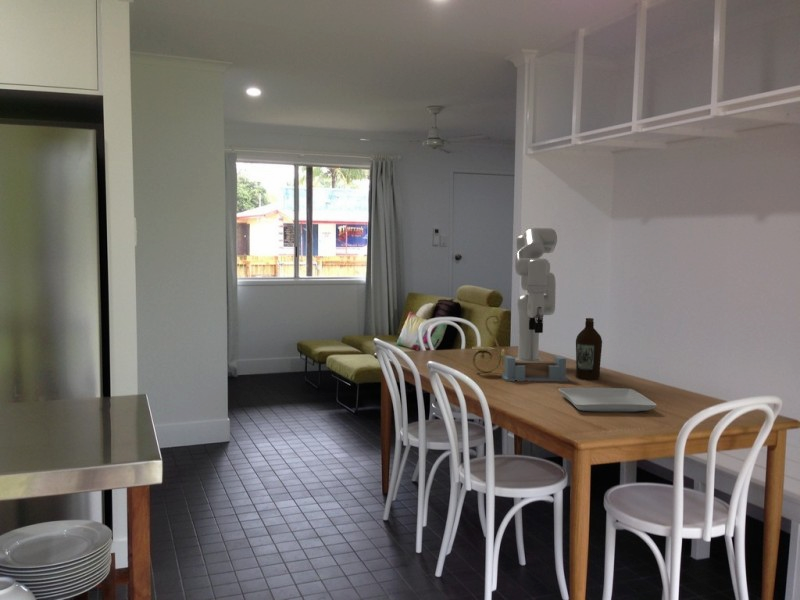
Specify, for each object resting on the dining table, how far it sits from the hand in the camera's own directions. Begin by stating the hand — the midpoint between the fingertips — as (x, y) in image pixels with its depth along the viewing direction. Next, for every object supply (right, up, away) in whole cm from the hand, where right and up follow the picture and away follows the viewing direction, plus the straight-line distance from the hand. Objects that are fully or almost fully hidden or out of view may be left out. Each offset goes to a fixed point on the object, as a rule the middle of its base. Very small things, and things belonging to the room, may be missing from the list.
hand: (535, 331), depth 291 cm
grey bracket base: (0, -20, +1) cm, 20 cm away
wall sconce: (-18, -19, +14) cm, 30 cm away
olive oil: (+23, -20, +5) cm, 30 cm away
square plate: (+16, -24, -45) cm, 53 cm away
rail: (0, -19, +1) cm, 19 cm away
